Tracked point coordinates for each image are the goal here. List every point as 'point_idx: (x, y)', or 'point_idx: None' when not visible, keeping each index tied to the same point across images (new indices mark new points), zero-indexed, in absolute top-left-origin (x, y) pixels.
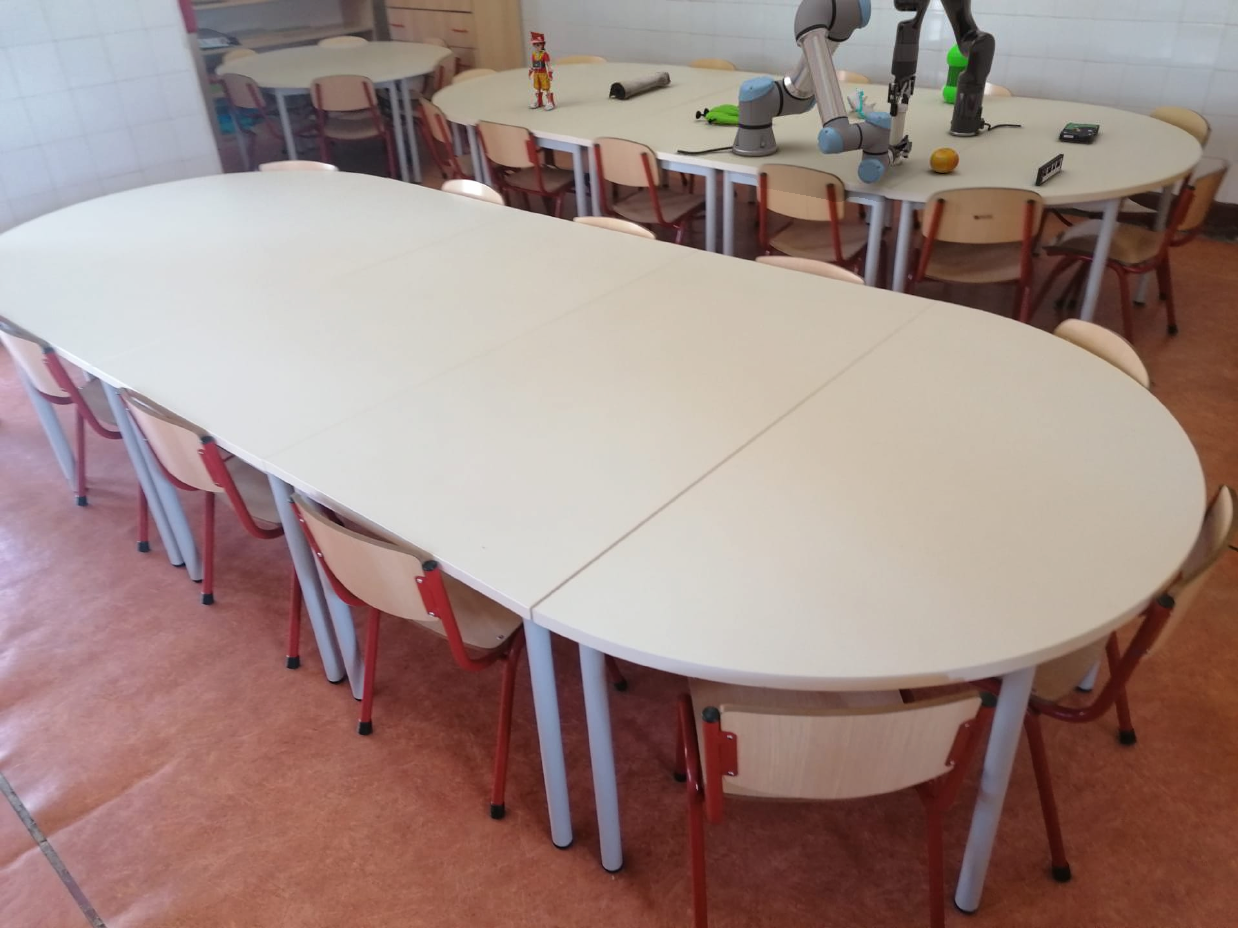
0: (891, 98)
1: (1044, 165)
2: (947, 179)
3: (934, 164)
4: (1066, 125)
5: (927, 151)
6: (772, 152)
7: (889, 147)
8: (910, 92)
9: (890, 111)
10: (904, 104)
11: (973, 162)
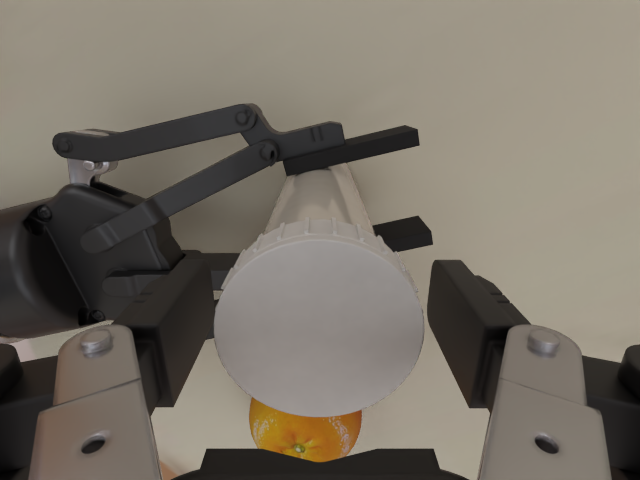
0: (57, 392)
1: None
2: (241, 418)
3: (252, 397)
4: None
5: (556, 235)
6: None
7: (2, 332)
8: (623, 470)
9: (140, 295)
10: (387, 367)
11: (465, 416)
